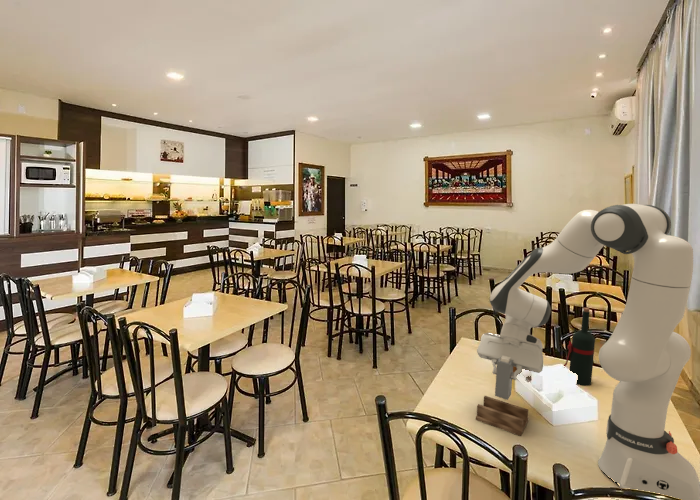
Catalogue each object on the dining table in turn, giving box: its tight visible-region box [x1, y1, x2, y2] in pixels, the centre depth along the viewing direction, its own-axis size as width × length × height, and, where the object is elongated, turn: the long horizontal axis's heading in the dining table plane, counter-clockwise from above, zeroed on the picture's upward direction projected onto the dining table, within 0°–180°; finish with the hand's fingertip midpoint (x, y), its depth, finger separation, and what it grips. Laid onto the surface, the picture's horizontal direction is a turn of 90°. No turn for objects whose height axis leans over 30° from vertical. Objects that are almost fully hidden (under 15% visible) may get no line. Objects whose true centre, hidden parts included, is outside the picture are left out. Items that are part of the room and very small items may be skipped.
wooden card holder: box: [474, 395, 529, 437], centre depth 122 cm, size 14×10×4 cm
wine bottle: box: [563, 307, 596, 387], centre depth 146 cm, size 8×10×30 cm
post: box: [494, 356, 514, 401], centre depth 120 cm, size 4×4×13 cm
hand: (503, 376), depth 119 cm, fingers closed on post, 4 cm apart
